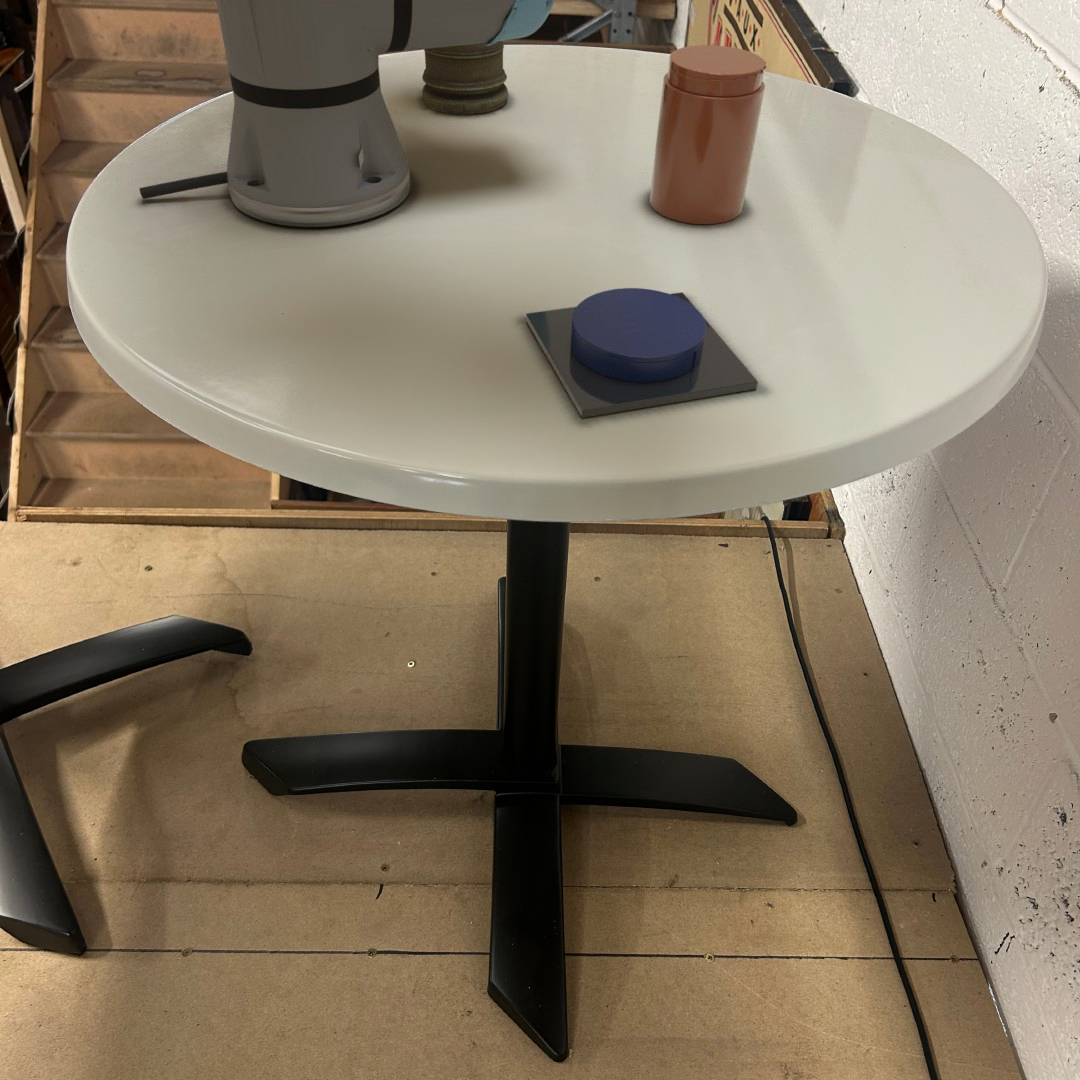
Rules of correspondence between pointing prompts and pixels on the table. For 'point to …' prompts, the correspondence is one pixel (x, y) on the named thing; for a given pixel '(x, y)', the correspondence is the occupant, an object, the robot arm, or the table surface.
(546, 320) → the coaster
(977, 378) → the table surface
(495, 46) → the container
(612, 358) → the lid
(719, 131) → the jar
